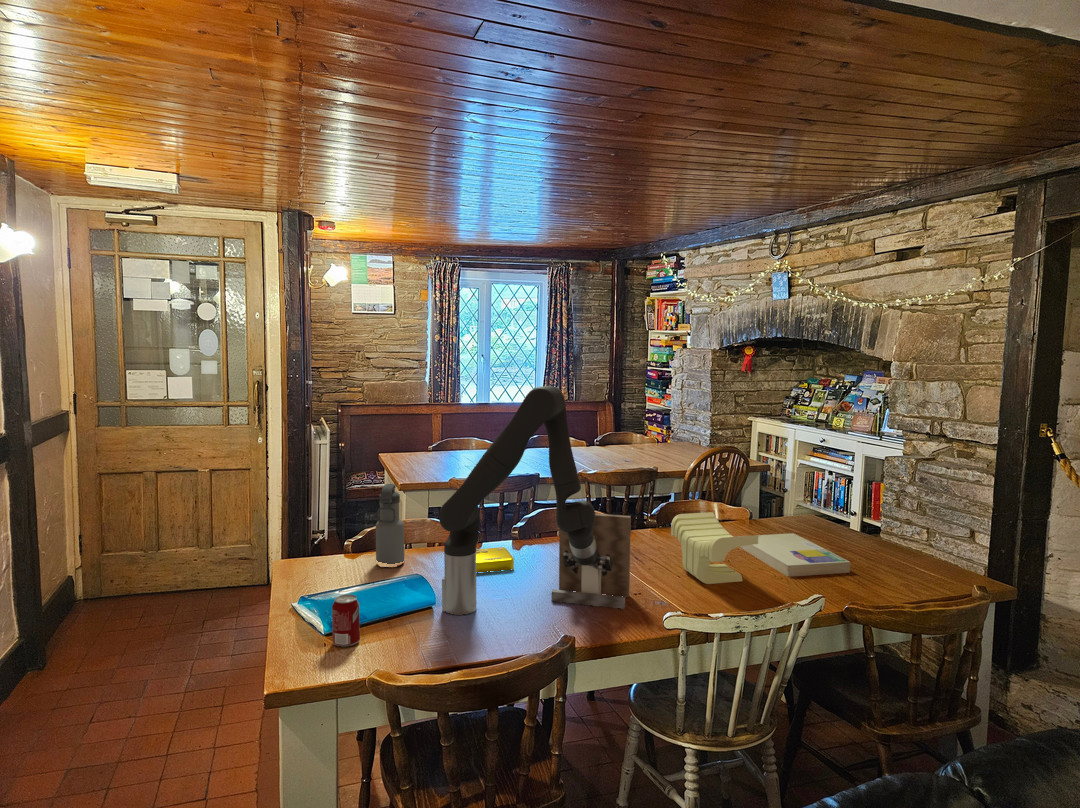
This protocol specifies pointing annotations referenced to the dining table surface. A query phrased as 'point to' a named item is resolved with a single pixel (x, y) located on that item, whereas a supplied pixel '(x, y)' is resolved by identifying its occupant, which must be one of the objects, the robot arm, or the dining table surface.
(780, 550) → the puzzle box
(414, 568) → the dining table surface
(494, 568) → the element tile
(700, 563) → the slatted curved stool
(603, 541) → the wall board
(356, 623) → the soda can
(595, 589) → the beige rectangular block
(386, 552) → the water bottle
